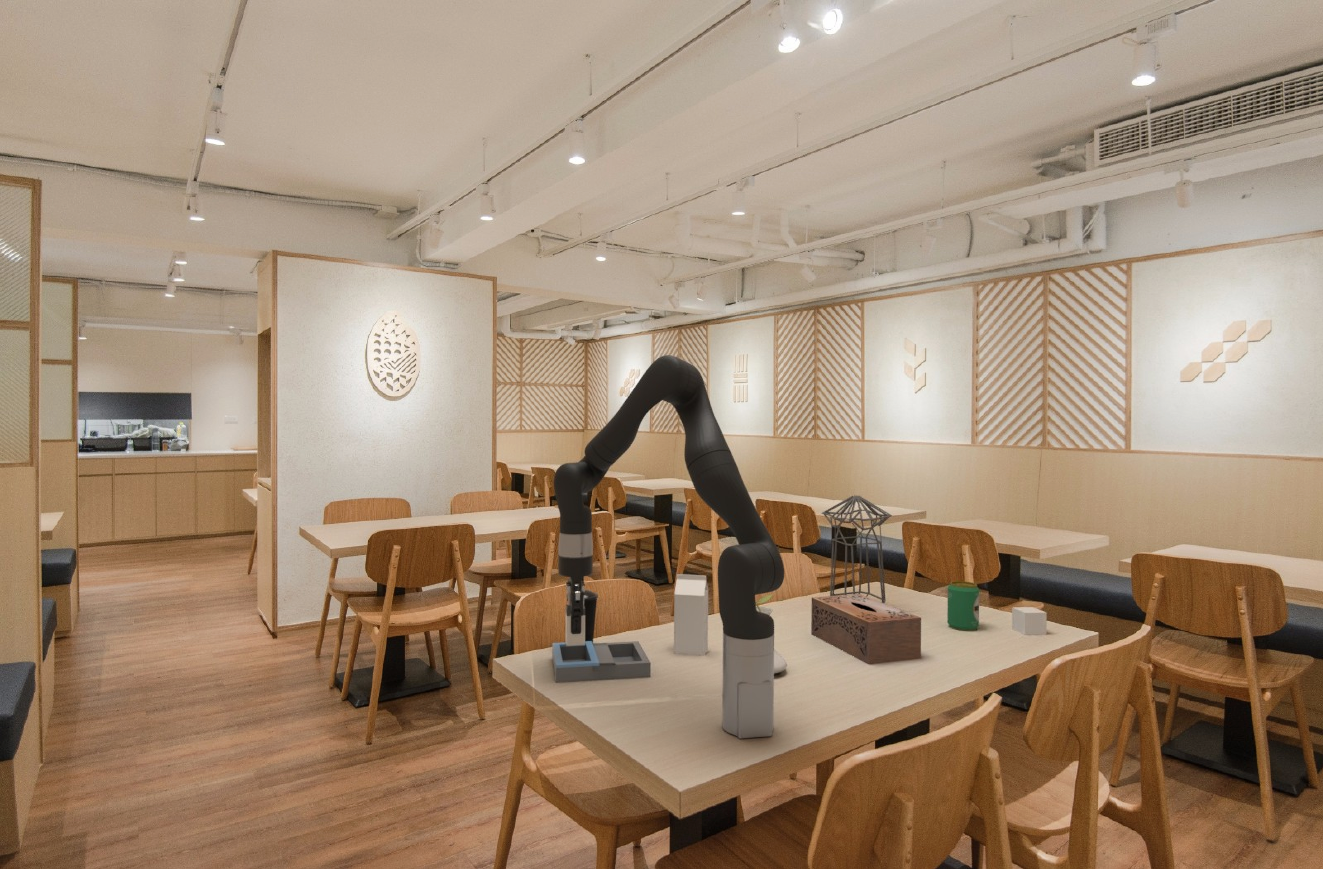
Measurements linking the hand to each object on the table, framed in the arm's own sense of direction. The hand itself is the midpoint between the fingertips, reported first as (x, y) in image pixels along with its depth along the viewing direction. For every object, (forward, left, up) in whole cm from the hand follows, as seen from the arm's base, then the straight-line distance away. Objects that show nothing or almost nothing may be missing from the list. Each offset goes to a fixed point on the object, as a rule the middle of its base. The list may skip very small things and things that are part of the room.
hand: (575, 630), depth 161 cm
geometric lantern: (+37, -84, -10) cm, 93 cm away
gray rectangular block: (0, 0, -3) cm, 3 cm away
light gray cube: (+12, -122, -10) cm, 123 cm away
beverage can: (+19, -107, -10) cm, 110 cm away
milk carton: (+9, -28, -10) cm, 31 cm away
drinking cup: (+15, -3, -10) cm, 19 cm away
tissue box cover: (+8, -72, -10) cm, 74 cm away
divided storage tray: (0, -5, -9) cm, 11 cm away
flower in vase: (-5, -40, -10) cm, 42 cm away
